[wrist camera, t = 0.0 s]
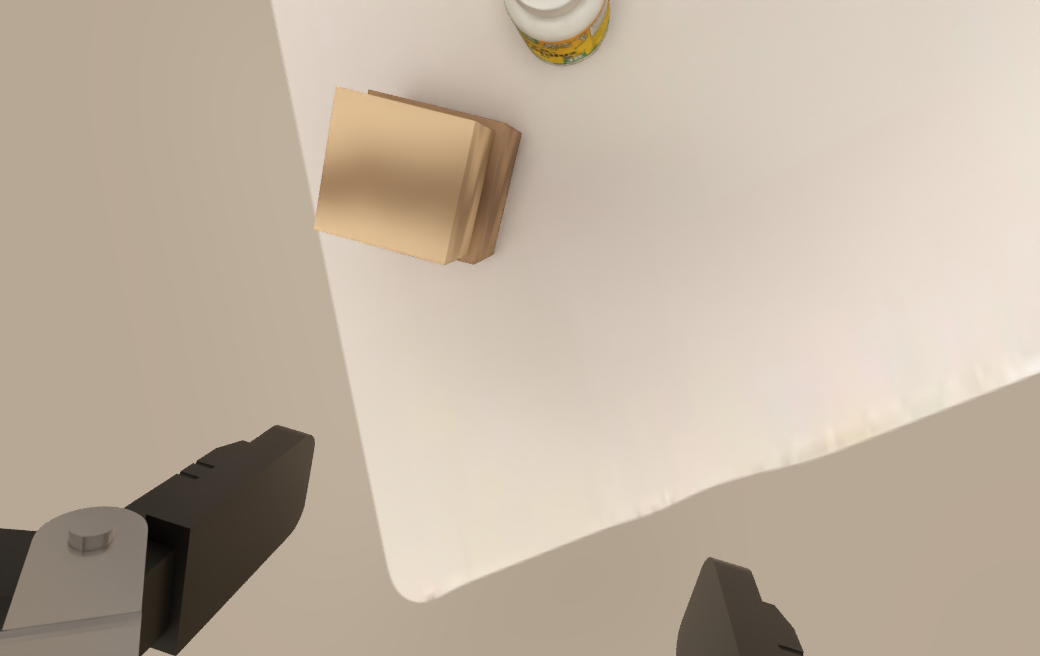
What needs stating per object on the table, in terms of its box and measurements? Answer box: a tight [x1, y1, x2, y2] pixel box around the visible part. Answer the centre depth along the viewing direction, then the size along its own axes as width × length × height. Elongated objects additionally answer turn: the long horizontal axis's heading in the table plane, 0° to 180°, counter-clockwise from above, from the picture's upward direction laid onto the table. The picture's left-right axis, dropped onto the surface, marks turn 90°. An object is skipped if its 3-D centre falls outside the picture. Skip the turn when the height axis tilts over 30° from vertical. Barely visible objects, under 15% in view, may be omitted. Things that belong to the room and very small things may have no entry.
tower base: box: [368, 90, 521, 264], centre depth 37 cm, size 8×8×6 cm
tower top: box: [314, 86, 495, 265], centre depth 32 cm, size 7×7×5 cm
